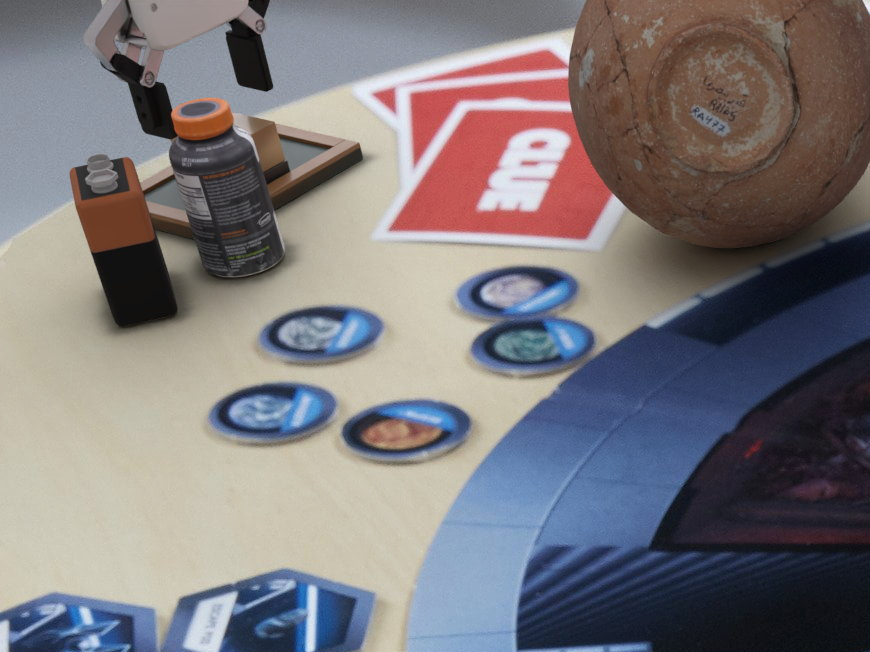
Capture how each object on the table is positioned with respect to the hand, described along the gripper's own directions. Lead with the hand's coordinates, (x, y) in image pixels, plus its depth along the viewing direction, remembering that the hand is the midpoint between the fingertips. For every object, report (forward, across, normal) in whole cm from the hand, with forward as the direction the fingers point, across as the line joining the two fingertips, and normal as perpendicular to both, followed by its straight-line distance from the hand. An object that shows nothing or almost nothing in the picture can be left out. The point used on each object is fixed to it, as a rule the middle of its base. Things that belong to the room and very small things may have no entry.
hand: (209, 111), depth 177 cm
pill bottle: (+6, +8, +10) cm, 14 cm away
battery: (+7, +16, +8) cm, 19 cm away
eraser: (+5, -1, 0) cm, 5 cm away
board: (+6, -1, 0) cm, 6 cm away
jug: (-7, -2, +47) cm, 47 cm away
